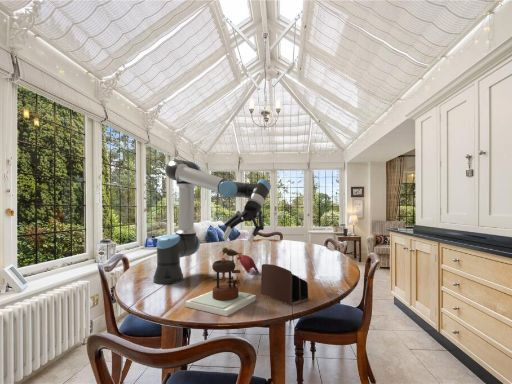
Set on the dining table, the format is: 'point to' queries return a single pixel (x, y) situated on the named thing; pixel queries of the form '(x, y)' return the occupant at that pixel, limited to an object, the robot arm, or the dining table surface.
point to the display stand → (220, 303)
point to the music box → (225, 266)
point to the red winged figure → (247, 263)
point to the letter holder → (283, 285)
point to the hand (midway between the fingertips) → (236, 240)
